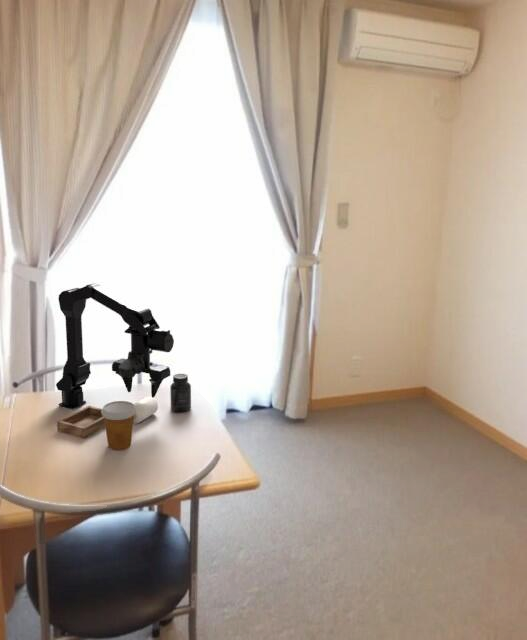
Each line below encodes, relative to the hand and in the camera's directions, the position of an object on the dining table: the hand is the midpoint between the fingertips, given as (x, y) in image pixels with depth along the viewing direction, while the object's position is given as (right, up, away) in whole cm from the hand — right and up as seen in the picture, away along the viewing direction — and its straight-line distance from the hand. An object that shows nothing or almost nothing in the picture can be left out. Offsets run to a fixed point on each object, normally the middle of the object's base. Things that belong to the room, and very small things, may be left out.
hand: (141, 394), depth 178 cm
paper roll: (0, -5, +1) cm, 5 cm away
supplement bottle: (+11, -7, +10) cm, 16 cm away
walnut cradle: (-16, -9, -5) cm, 19 cm away
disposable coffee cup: (-3, -13, -17) cm, 21 cm away
